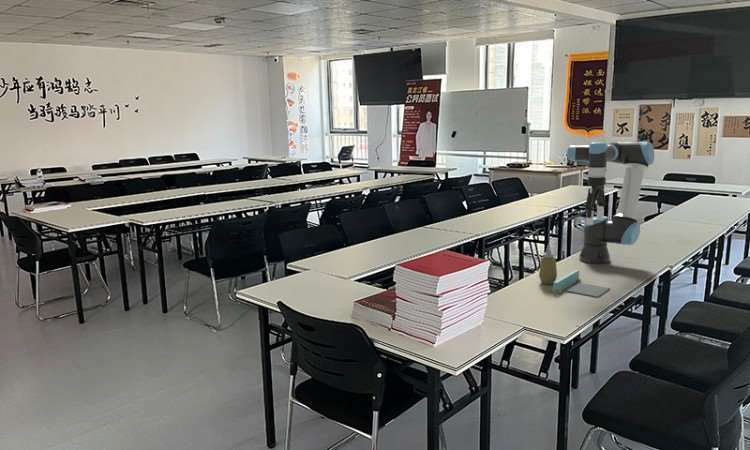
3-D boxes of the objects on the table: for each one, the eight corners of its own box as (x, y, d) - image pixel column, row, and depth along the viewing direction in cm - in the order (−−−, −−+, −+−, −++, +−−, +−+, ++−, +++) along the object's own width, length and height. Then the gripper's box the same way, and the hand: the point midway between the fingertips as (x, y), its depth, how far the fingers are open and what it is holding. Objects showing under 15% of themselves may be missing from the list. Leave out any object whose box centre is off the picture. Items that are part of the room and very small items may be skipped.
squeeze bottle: (542, 279, 265) (542, 243, 262) (559, 282, 260) (560, 244, 257) (536, 284, 259) (537, 246, 255) (553, 286, 254) (554, 248, 251)
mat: (566, 291, 247) (566, 290, 246) (579, 283, 257) (579, 282, 256) (597, 297, 237) (597, 296, 237) (610, 289, 247) (610, 288, 247)
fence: (550, 292, 246) (550, 281, 245) (573, 279, 264) (573, 269, 263) (559, 294, 244) (559, 283, 243) (581, 280, 261) (581, 270, 260)
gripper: (595, 179, 241) (593, 227, 245) (614, 174, 260) (612, 218, 264) (578, 178, 246) (576, 225, 250) (597, 173, 265) (596, 217, 269)
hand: (594, 222), depth 257 cm, fingers open, 13 cm apart
